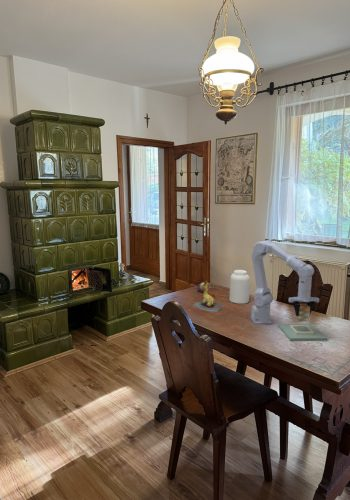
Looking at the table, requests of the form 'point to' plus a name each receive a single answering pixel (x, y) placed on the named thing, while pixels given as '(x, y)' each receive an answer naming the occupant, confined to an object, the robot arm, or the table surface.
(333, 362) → the table surface
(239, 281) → the white jar
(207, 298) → the yellow giraffe figurine
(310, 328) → the plate
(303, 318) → the block stack
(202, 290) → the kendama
